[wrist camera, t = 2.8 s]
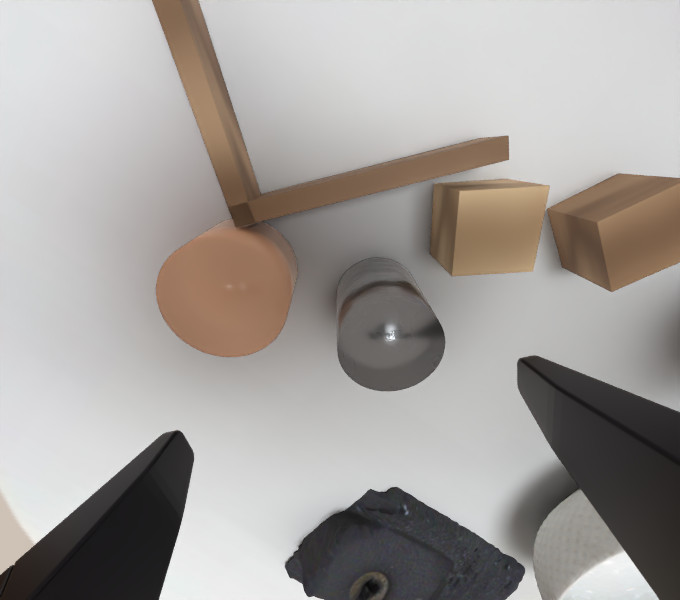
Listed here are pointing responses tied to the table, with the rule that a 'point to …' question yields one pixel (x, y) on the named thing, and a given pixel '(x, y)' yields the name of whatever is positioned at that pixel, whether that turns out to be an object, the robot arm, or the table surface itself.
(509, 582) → the dark slate chunk
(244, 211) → the frame
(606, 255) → the walnut cube
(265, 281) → the peach cylinder puck
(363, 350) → the dark tin
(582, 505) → the cereal bowl
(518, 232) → the oak cube
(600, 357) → the table surface
